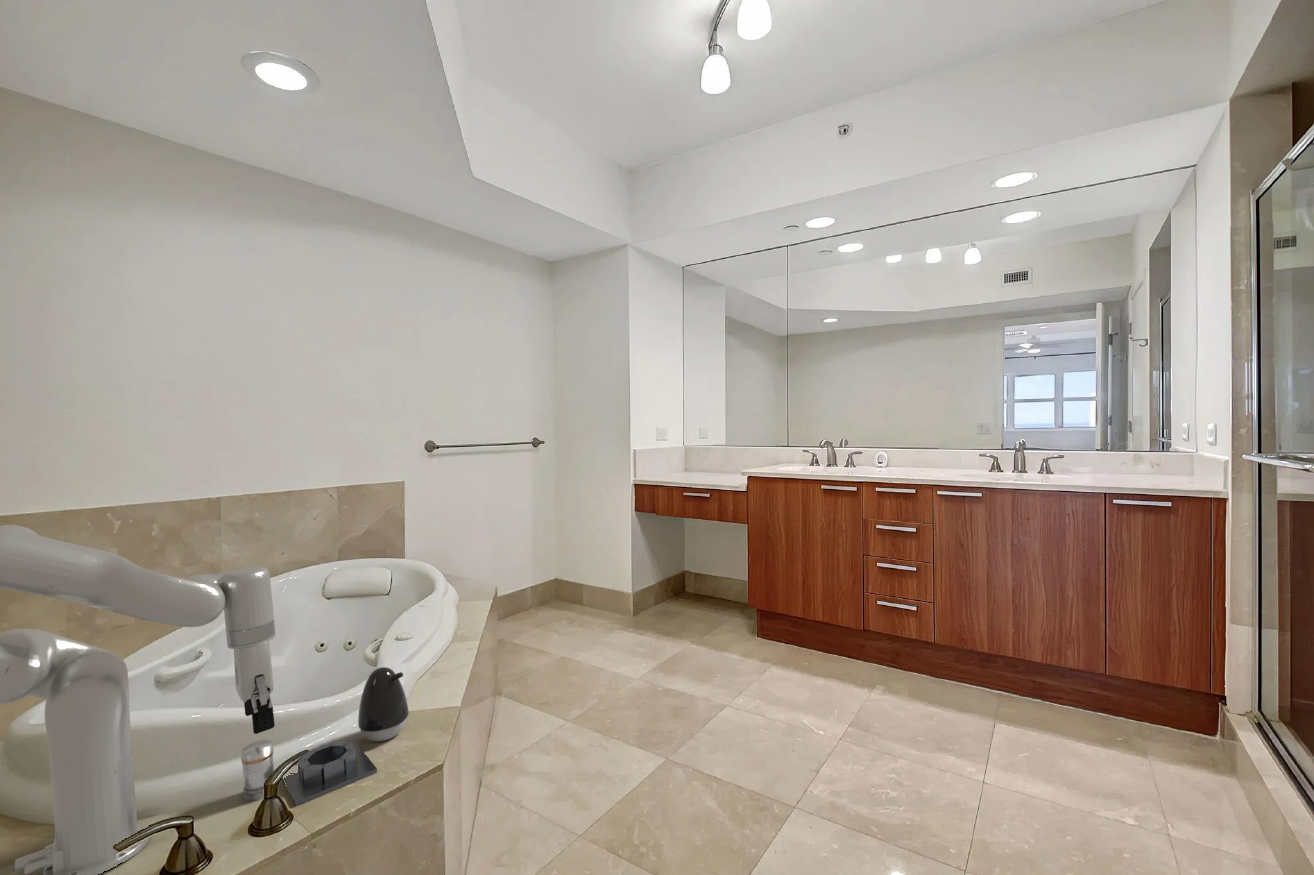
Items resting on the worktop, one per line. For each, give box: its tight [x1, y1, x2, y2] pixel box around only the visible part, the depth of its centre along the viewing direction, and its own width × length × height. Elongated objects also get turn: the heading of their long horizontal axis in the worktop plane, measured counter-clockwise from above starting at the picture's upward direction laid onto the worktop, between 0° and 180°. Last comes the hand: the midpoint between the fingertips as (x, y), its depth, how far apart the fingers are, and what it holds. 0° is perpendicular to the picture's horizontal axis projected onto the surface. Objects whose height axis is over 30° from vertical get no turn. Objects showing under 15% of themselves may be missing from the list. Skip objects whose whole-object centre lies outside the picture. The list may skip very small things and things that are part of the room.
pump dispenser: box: [357, 666, 410, 742], centre depth 129 cm, size 10×10×15 cm
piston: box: [240, 739, 275, 802], centre depth 109 cm, size 5×5×9 cm
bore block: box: [283, 741, 378, 807], centre depth 115 cm, size 14×14×4 cm
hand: (259, 721), depth 110 cm, fingers open, 9 cm apart
